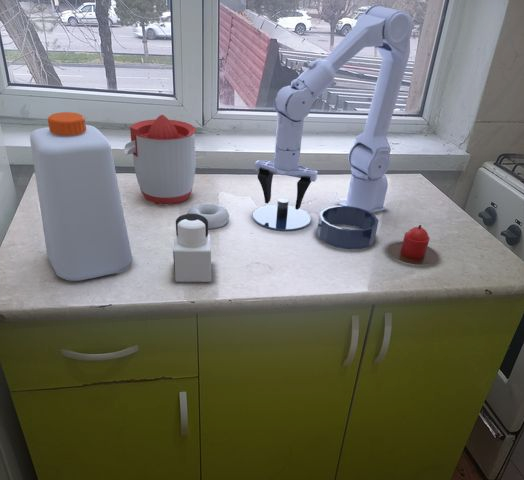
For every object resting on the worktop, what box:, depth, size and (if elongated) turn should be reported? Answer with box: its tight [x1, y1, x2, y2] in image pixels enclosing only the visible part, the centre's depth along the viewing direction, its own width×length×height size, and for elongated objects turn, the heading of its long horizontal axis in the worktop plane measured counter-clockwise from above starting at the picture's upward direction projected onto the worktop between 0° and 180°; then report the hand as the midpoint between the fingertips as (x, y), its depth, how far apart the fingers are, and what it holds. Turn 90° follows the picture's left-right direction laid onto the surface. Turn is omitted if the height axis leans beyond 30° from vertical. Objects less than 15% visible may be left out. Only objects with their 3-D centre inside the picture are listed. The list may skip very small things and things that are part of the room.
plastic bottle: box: [29, 111, 133, 282], centre depth 96 cm, size 15×15×28 cm
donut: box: [186, 202, 230, 230], centre depth 121 cm, size 10×4×10 cm
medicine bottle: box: [172, 213, 212, 283], centre depth 100 cm, size 7×7×12 cm
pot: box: [316, 205, 379, 250], centre depth 119 cm, size 13×13×5 cm
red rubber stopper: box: [401, 224, 430, 258], centre depth 113 cm, size 5×5×7 cm
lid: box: [252, 198, 312, 232], centre depth 124 cm, size 14×14×5 cm
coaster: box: [387, 241, 438, 266], centre depth 116 cm, size 11×11×1 cm
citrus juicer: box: [123, 114, 197, 205], centre depth 126 cm, size 16×17×20 cm
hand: (282, 204), depth 123 cm, fingers open, 7 cm apart
